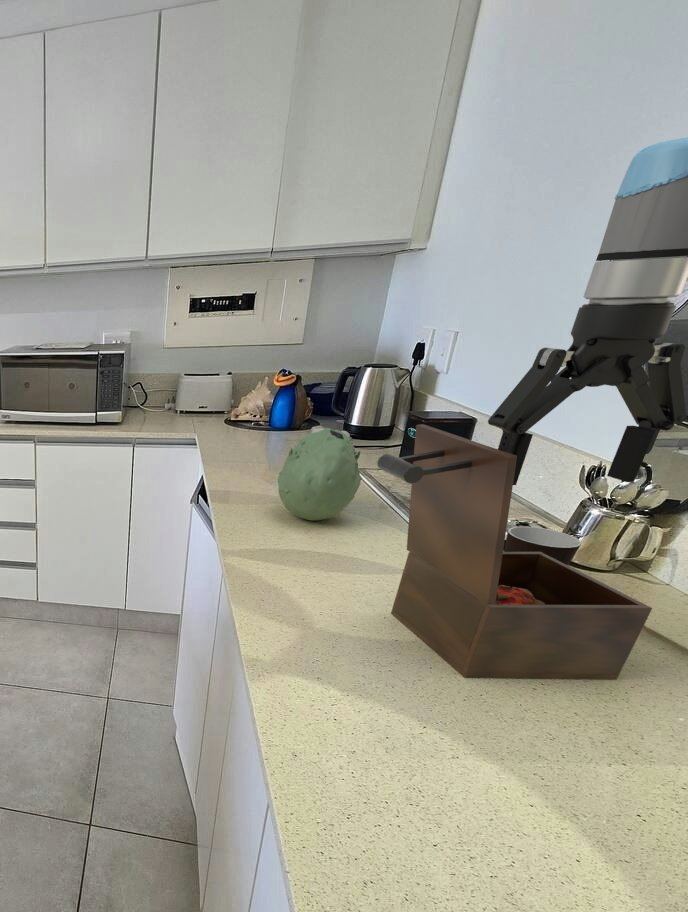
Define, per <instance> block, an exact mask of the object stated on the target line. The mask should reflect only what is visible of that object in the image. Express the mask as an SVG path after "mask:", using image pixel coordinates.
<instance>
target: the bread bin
mask: <svg viewBox="0 0 688 912" xmlns="http://www.w3.org/2000/svg"><path fill="white" fill-rule="evenodd" d="M500 585H504V586H510V587H517V588H522V589H527V590H528V591H530V592H531V593H532V595H533V597H535V598H536V599H537V600H540V601H542V602H544V603H545V604H546V605H492V604H489V605H488V604H486V603H485V602H483V601H482V600H480V599H479V598H477V597H476V596H475V595H473V594H472V593H470V592H469V591H467V590H466V589H464V588H463V587H461V586H460V585H458V584H457V583H455V582H454V581H452V580H451V579H449V578H448V577H446V576H445V575H443V574H442V573H440V572H439V571H437V570H436V569H434V568H433V567H431V566H430V565H428V564H427V563H425V562H424V561H423V560H421V559H420V558H418V557H417V556H415V555H414V554H412V553H411V552H409V551H408V554H407V558H406V561H405V564H404V567H403V571H402V574H401V578H400V581H399V584H398V587H397V592H396V595H395V597H394V601H393V605H392V609H391V612H390V614H391V615H392V616H393V617H394V618H395V619H397V620H398V621H399V622H400V623H401V624H402V625H403V626H405V627H406V628H407V629H408V630H409V631H410V632H412V633H413V634H414V635H415V636H416V637H417V638H419V639H420V640H421V641H422V642H423V643H424V644H425V645H426V646H427V647H429V648H430V649H431V650H432V651H434V652H435V654H436V655H438V656H439V657H440V658H442V660H444V661H445V662H446V663H447V664H448V665H449V666H451V667H452V668H453V669H454V670H455V671H456V672H457V673H458V674H460V675H461V676H462V677H463V678H466V679H469V678H470V679H471V678H472V679H536V680H537V679H539V680H540V679H542V680H546V679H547V680H548V679H549V680H618V678H619V677H620V674H621V672H622V670H623V668H624V666H625V664H626V662H627V660H628V658H629V656H630V654H631V652H632V650H633V648H634V645H635V644H636V642H637V639H638V638H639V636H640V634H641V632H642V630H643V628H644V626H645V624H646V623H647V621H648V618H649V616H650V614H651V612H652V610H653V607H651V606H650V605H647V604H645V603H643V602H641V601H640V600H637V599H635V598H634V597H631V596H629V595H627V594H625V593H624V592H622V591H620V590H618V589H615V588H613V587H611V586H610V585H608V584H606V583H603V582H602V581H600V580H598V579H596V578H594V577H592V576H590V575H588V574H586V573H584V572H581V571H579V570H578V569H576V568H573V567H571V566H570V565H566V564H564V563H562V562H560V561H558V560H556V559H554V558H552V557H550V556H548V555H546V554H544V553H542V552H504V551H503V555H502V562H501V568H500V575H499V582H498V586H500Z"/></svg>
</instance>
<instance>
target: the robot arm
mask: <svg viewBox="0 0 688 912" xmlns="http://www.w3.org/2000/svg"><path fill="white" fill-rule="evenodd" d="M604 232H605V233H604V235H603V238H602V241H601V245H600V247H599V251H598V254H597V256H596V259H595V262H594V264H593V267H592V270H591V273H590V276H589V279H588V281H587V284H586V287H585V290H584V293H583V298H584V299H585V300H589V301H588V303H584V304H582V306H580V307H579V308H578V310H577V313H576V316H575V319H574V322H573V326H572V328H571V331H570V335H571V337H572V343H571V345H570V346H569V348H568V349H562V348H552V347H542V348H540V349H539V350H538V352H537V354H536V356H535V359H534V361H533V363H532V366H531V367H530V368H529V370H528V371H527V372H526V373H525V374H524V376H523V377H522V378H521V380H520V381H519V382H518V383H517V384H516V385H515V387H513V389H512V390H511V391H510V393H509V394H508V395H507V397H505V399H504V400H503V401H502V402H501V403H500V405H499V406H498V407H497V408H496V409H495V411H494V412H493V413H492V415H491V416H490V417H489V418H488V420H487V424H488V425H489V426H493V427H496V428H498V429H501V431H502V435H501V437H500V440H499V444H498V448H497V449H498V450H501V451H504V452H507V453H510V454H513V455H516V456H517V460H516V467H515V474H514V481H513V486H517V485H518V484H517V483H518V480H519V478H520V475H521V472H522V468H523V466H524V462H525V459H526V457H527V454H528V451H529V447H530V445H531V442H532V439H533V436H534V434H533V433H529V432H528V431H529V430H530V429H531V428H533V427H534V426H535V425H536V424H538V423H539V422H540V421H541V420H542V419H543V418H545V417H546V416H547V415H548V414H549V413H551V412H552V411H553V410H554V409H556V408H557V407H558V406H559V405H560V404H562V403H563V402H564V401H566V399H568V398H569V397H570V396H571V395H573V394H574V393H576V392H579V391H582V390H583V389H584V388H586V387H589V388H596V387H601V386H611V387H616V389H617V391H618V392H619V394H620V397H621V398H622V400H623V402H624V403H625V405H626V407H627V409H628V410H629V412H630V415H631V416H632V418H633V420H634V421H635V422H634V423H636V425H626V427H625V429H624V432H623V435H622V437H621V439H620V441H619V444H618V447H617V449H616V452H615V455H614V457H613V459H612V461H611V464H610V467H609V469H608V472H607V475H606V477H609V478H612V479H615V480H619V481H622V482H624V483H634V482H635V481H636V478H637V476H638V473H639V471H640V468H641V466H642V464H643V462H644V459H645V457H646V455H649V454H650V452H652V449H653V447H654V445H655V442H656V440H657V438H658V436H659V433H660V431H665V432H666V431H670V430H672V429H673V427H674V426H675V424H681V423H683V422H685V421H686V419H687V409H686V399H685V391H684V382H683V374H682V366H681V363H682V360H683V357H684V352H685V350H686V345H685V344H683V343H674V342H671V343H670V342H660V341H657V342H655V341H656V339H659V338H661V337H663V336H665V334H666V333H667V330H668V328H669V325H670V323H671V320H672V317H673V316H674V312H675V310H676V307H677V306H676V305H675V302H671V301H672V299H673V298H677V297H680V296H681V295H682V293H683V290H684V288H685V286H686V283H687V281H688V136H686V137H680V138H675V139H671V140H665V141H661V142H657V143H654V144H650V145H648V146H646V147H644V148H642V149H641V150H639V151H638V152H636V153H635V155H634V156H633V157H632V159H631V161H630V163H629V165H628V167H627V169H626V171H625V173H624V176H623V179H622V180H621V183H620V185H619V188H618V191H617V193H616V194H615V197H614V203H613V206H612V210H611V213H610V216H609V219H608V222H607V226H606V228H605V231H604ZM646 364H647V372H646V370H645V368H644V365H646ZM561 368H562V369H561ZM560 369H561V370H560ZM648 383H649V384H648Z"/></svg>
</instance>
